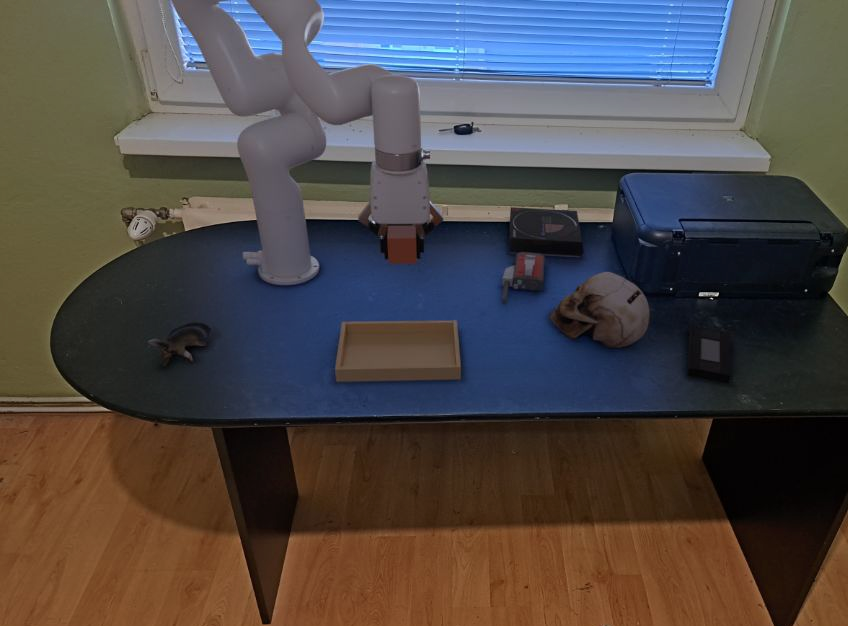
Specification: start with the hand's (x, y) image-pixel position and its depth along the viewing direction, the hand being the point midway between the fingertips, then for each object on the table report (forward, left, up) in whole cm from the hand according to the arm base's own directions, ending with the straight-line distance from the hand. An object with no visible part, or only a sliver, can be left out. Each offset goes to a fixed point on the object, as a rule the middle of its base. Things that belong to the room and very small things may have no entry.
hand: (402, 254), depth 123 cm
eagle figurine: (-39, -9, -16) cm, 43 cm away
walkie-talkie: (+25, +15, -16) cm, 33 cm away
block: (0, 0, 0) cm, 0 cm away
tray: (-1, -10, -15) cm, 18 cm away
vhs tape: (+57, -12, -16) cm, 61 cm away
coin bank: (+37, -3, -16) cm, 40 cm away
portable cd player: (+33, +36, -16) cm, 51 cm away
